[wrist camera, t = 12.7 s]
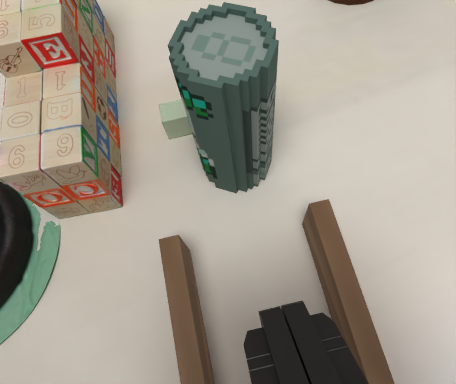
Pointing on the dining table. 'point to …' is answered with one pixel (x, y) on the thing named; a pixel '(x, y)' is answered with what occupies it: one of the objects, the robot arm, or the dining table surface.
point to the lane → (331, 283)
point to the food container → (350, 1)
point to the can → (228, 90)
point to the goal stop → (175, 119)
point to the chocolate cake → (22, 258)
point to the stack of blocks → (59, 106)
